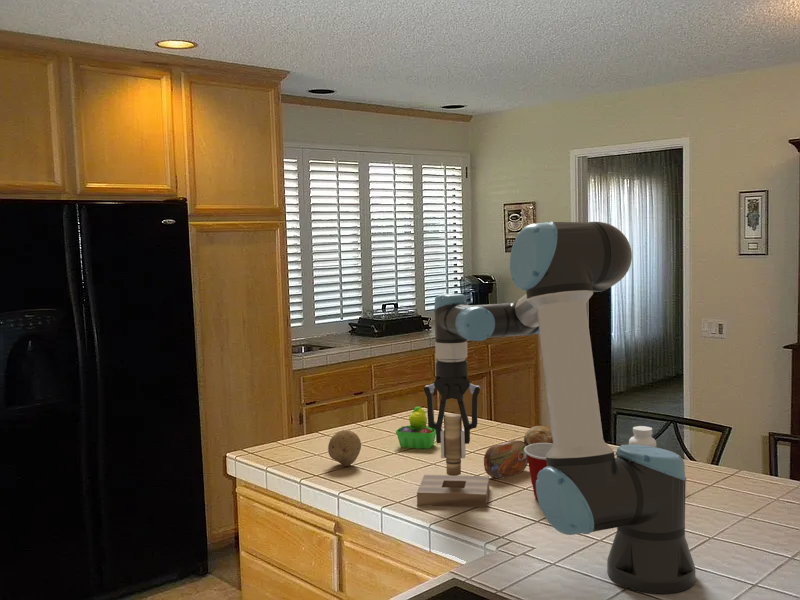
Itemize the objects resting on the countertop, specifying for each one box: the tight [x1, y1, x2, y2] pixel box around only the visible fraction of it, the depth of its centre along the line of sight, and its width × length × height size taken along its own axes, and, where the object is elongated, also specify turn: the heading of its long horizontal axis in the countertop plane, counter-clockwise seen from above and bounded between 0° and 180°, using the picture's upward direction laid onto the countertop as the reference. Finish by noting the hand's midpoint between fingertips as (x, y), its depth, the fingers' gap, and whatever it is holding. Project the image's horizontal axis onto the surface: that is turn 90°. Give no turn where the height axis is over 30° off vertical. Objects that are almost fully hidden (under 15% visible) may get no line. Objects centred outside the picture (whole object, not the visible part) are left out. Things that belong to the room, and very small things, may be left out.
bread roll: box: [523, 425, 553, 446], centre depth 231 cm, size 10×10×8 cm
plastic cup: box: [524, 443, 553, 501], centre depth 185 cm, size 11×11×12 cm
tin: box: [483, 439, 529, 480], centre depth 205 cm, size 15×3×8 cm, turn 129°
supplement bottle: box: [628, 425, 657, 448], centre depth 198 cm, size 7×7×13 cm
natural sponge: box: [327, 429, 362, 467], centre depth 216 cm, size 9×9×10 cm
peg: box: [443, 413, 463, 476], centre depth 188 cm, size 4×4×14 cm
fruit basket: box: [395, 406, 436, 450], centre depth 236 cm, size 11×9×11 cm
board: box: [416, 474, 490, 508], centre depth 188 cm, size 14×16×3 cm
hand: (453, 456), depth 188 cm, fingers closed on peg, 4 cm apart
